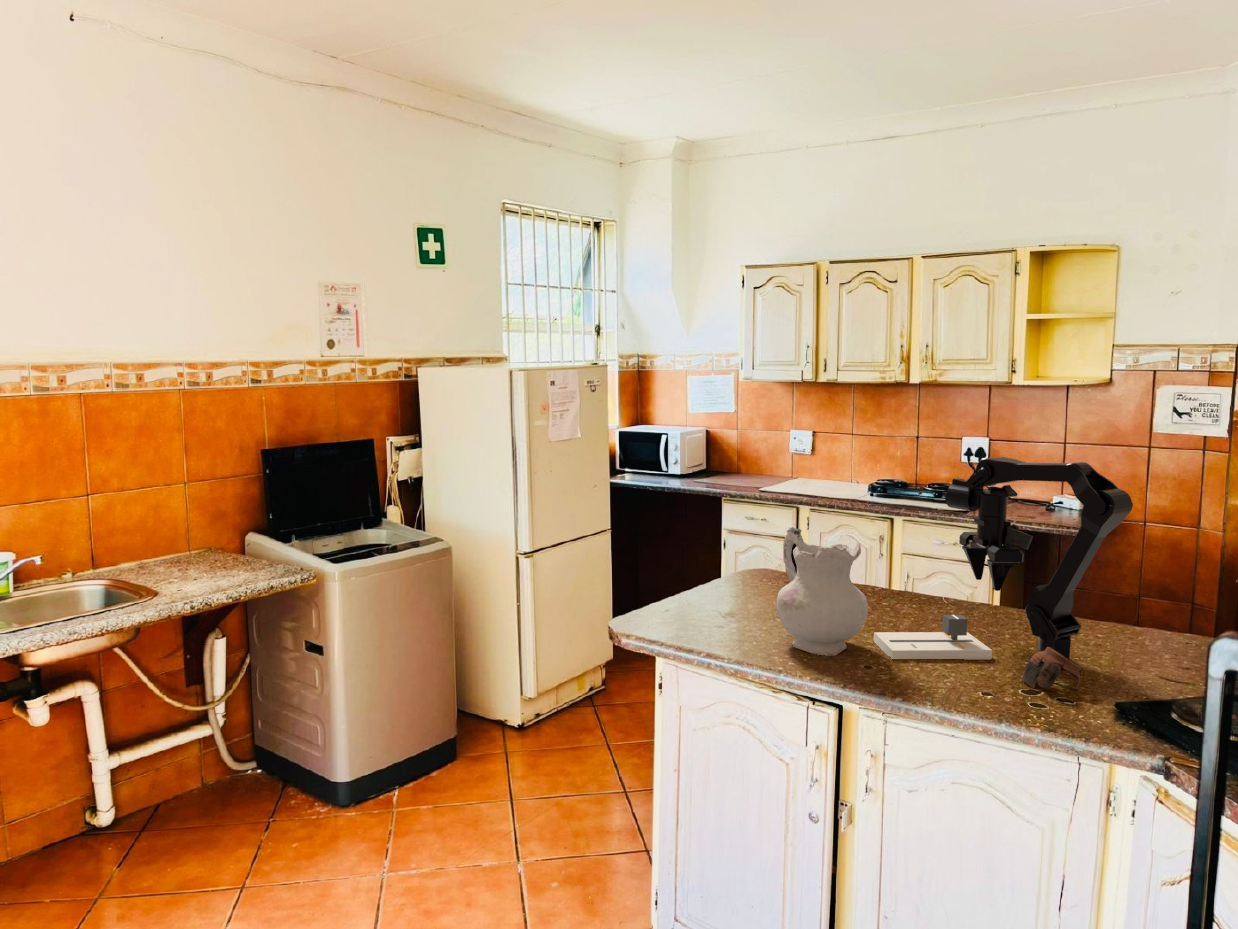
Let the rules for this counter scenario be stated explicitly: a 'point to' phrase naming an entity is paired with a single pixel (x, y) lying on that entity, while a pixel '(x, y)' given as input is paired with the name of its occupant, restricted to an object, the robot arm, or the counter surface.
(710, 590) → the counter surface
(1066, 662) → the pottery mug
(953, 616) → the fader knob
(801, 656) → the counter surface
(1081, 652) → the counter surface
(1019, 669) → the counter surface
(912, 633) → the fader panel
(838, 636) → the ceramic pitcher
